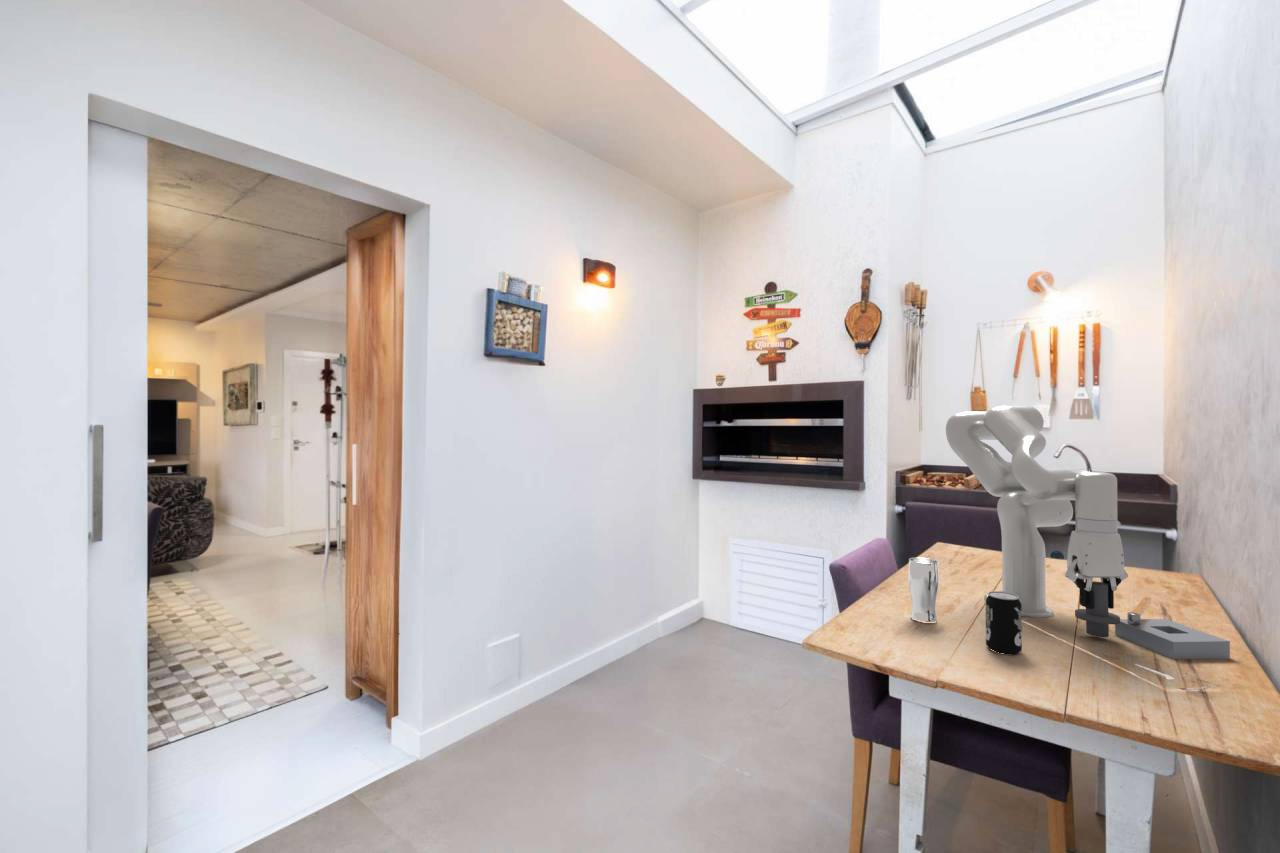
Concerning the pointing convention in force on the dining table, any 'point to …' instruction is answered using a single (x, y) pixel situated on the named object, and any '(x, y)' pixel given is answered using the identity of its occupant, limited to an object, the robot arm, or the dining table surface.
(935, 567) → the beer glass
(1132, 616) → the orange stick
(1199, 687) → the fork
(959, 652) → the dining table surface
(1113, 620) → the plug
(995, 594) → the beverage can
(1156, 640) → the socket block
